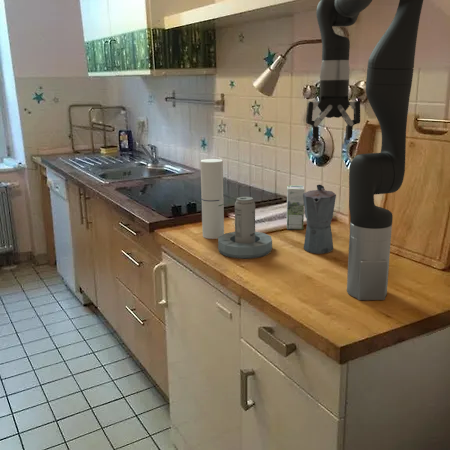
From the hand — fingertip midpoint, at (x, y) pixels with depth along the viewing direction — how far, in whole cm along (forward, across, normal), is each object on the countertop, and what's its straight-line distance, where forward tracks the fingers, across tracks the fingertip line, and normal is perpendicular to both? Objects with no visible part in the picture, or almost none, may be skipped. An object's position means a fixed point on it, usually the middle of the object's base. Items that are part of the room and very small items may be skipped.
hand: (332, 140), depth 137 cm
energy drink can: (+32, -24, +5) cm, 40 cm away
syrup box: (+33, -6, +28) cm, 44 cm away
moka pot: (+33, -2, +5) cm, 34 cm away
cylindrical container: (+33, -34, +20) cm, 52 cm away
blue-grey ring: (+33, -24, +5) cm, 41 cm away
